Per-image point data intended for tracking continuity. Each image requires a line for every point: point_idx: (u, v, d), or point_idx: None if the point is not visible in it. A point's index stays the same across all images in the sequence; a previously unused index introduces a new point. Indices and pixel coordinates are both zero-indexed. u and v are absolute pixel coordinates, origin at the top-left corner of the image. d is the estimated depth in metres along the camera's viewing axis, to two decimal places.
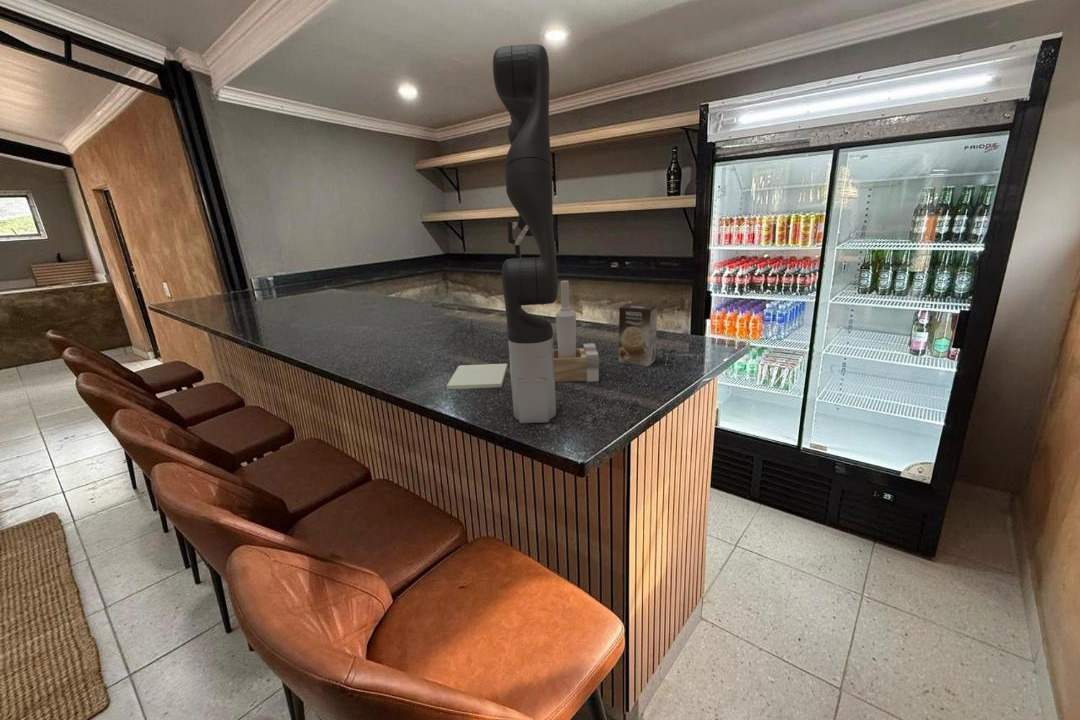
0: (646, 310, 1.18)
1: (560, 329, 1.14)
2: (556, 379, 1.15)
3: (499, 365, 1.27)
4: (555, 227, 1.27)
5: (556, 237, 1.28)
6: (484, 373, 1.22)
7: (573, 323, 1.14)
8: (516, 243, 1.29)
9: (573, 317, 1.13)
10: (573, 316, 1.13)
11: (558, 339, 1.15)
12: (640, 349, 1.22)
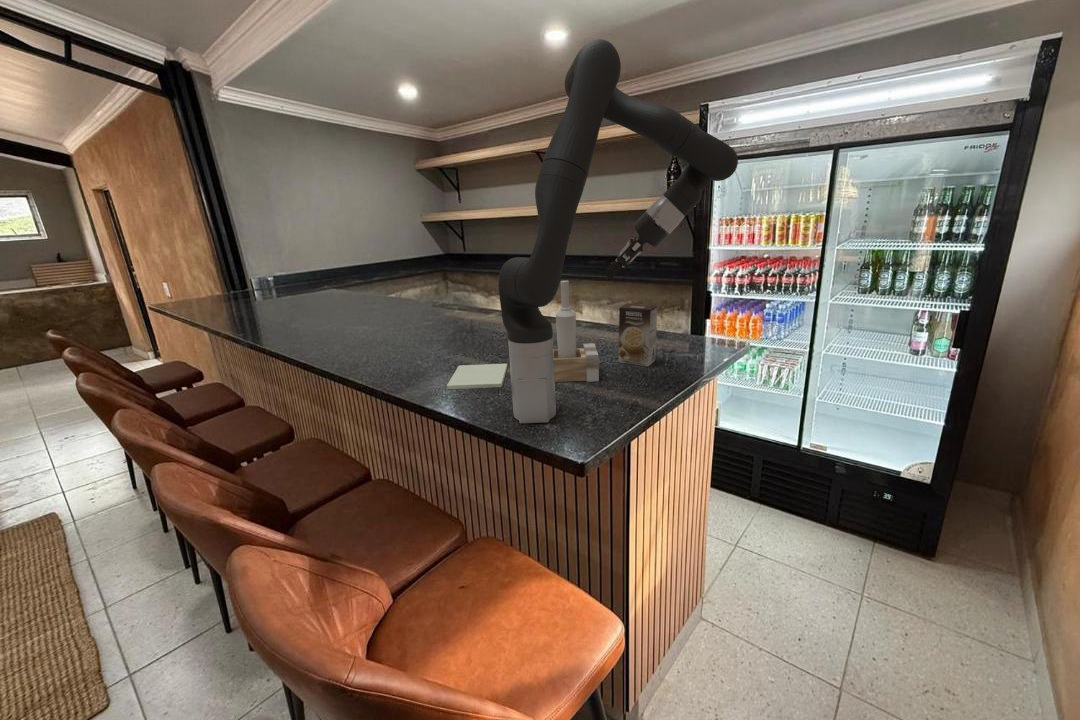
0: (646, 310, 1.18)
1: (560, 329, 1.14)
2: (556, 379, 1.15)
3: (499, 365, 1.27)
4: (628, 247, 1.00)
5: (619, 256, 1.00)
6: (484, 373, 1.22)
7: (573, 323, 1.14)
8: (619, 254, 1.12)
9: (573, 317, 1.13)
10: (573, 316, 1.13)
11: (558, 339, 1.15)
12: (640, 349, 1.22)
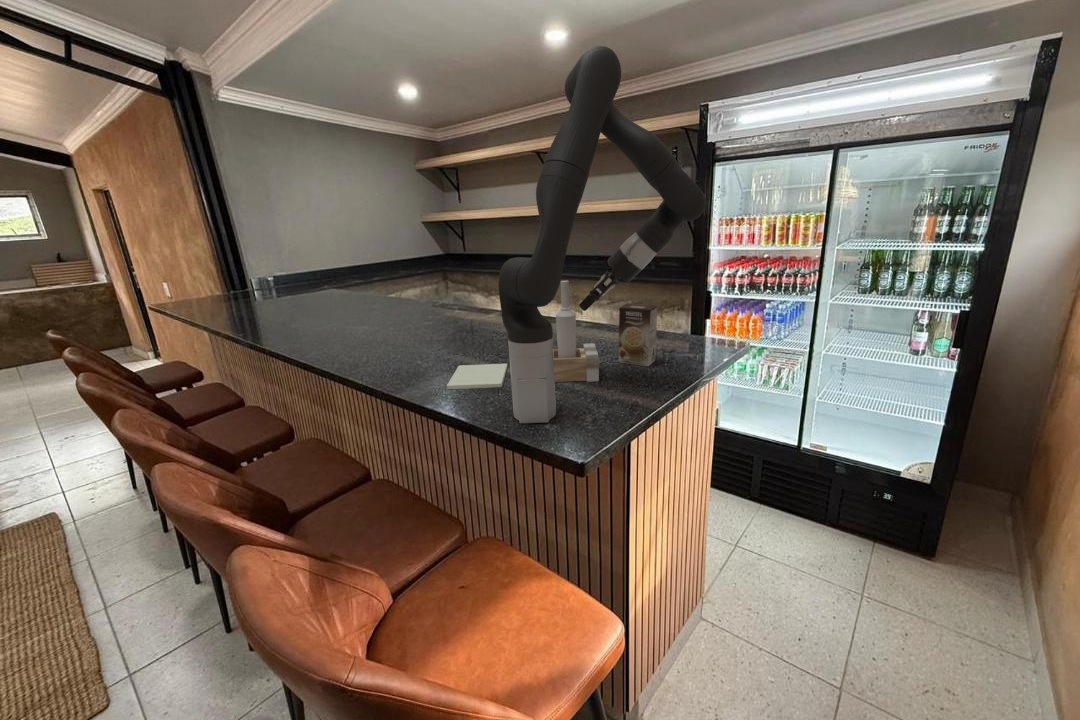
0: (646, 310, 1.18)
1: (560, 329, 1.14)
2: (556, 379, 1.15)
3: (499, 365, 1.27)
4: (600, 282, 1.03)
5: None
6: (484, 373, 1.22)
7: (573, 323, 1.14)
8: None
9: (573, 317, 1.13)
10: (573, 316, 1.13)
11: (558, 339, 1.15)
12: (640, 349, 1.22)
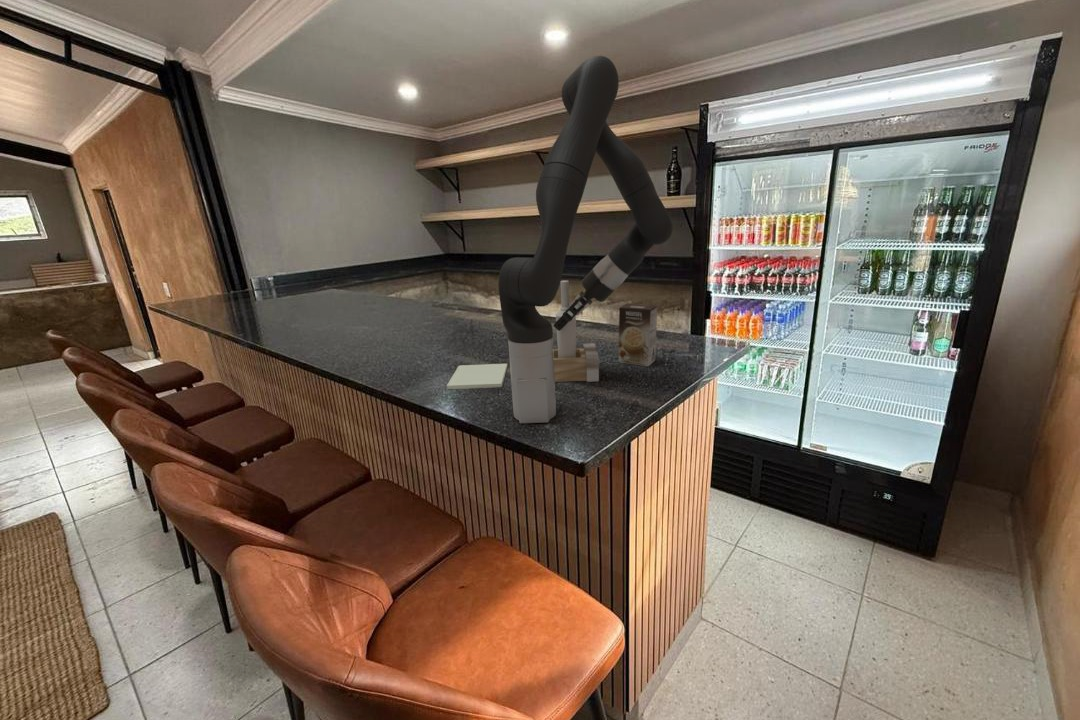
0: (646, 310, 1.18)
1: None
2: (556, 379, 1.15)
3: (499, 365, 1.27)
4: (571, 305, 1.07)
5: (564, 312, 1.09)
6: (484, 373, 1.22)
7: (573, 323, 1.14)
8: None
9: (573, 317, 1.13)
10: None
11: (558, 339, 1.15)
12: (640, 349, 1.22)
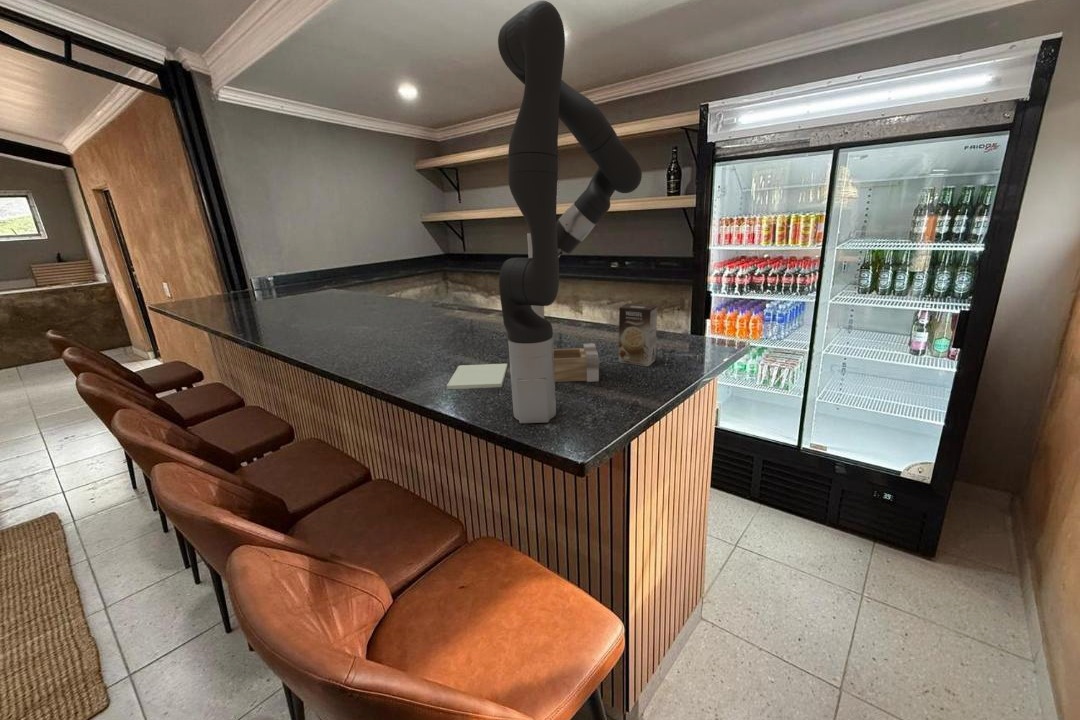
0: (646, 310, 1.18)
1: None
2: (556, 379, 1.15)
3: (499, 365, 1.27)
4: None
5: None
6: (484, 373, 1.22)
7: None
8: None
9: None
10: None
11: None
12: (640, 349, 1.22)
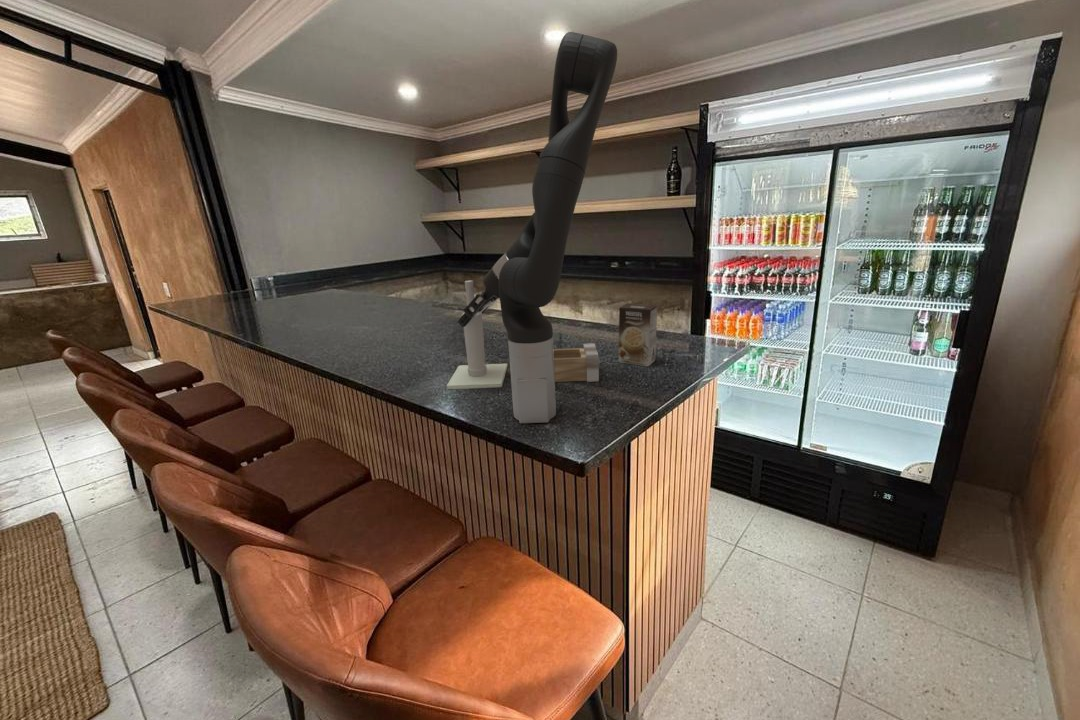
0: (646, 310, 1.18)
1: (465, 328, 1.16)
2: (556, 379, 1.15)
3: (499, 365, 1.27)
4: None
5: (465, 308, 1.09)
6: None
7: (478, 322, 1.15)
8: None
9: (478, 316, 1.15)
10: (478, 315, 1.15)
11: (465, 338, 1.17)
12: (640, 349, 1.22)
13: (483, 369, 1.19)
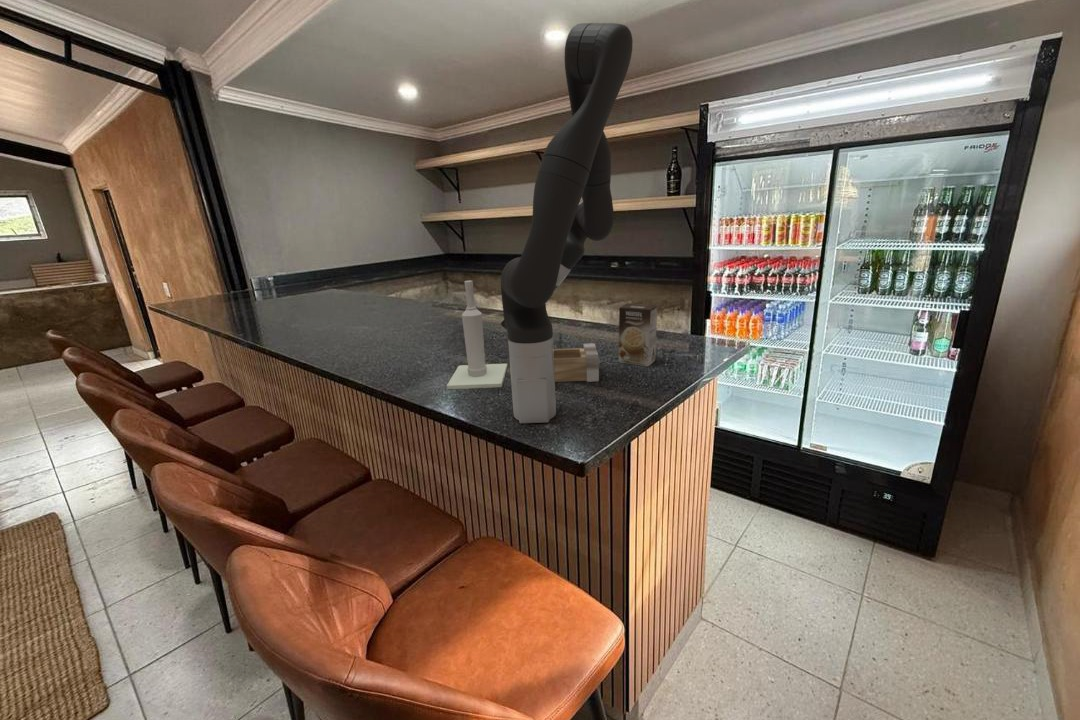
0: (646, 310, 1.18)
1: (465, 328, 1.16)
2: (556, 379, 1.15)
3: (499, 365, 1.27)
4: None
5: None
6: None
7: (478, 322, 1.15)
8: None
9: (478, 316, 1.15)
10: (478, 315, 1.15)
11: (465, 338, 1.17)
12: (640, 349, 1.22)
13: (483, 369, 1.19)
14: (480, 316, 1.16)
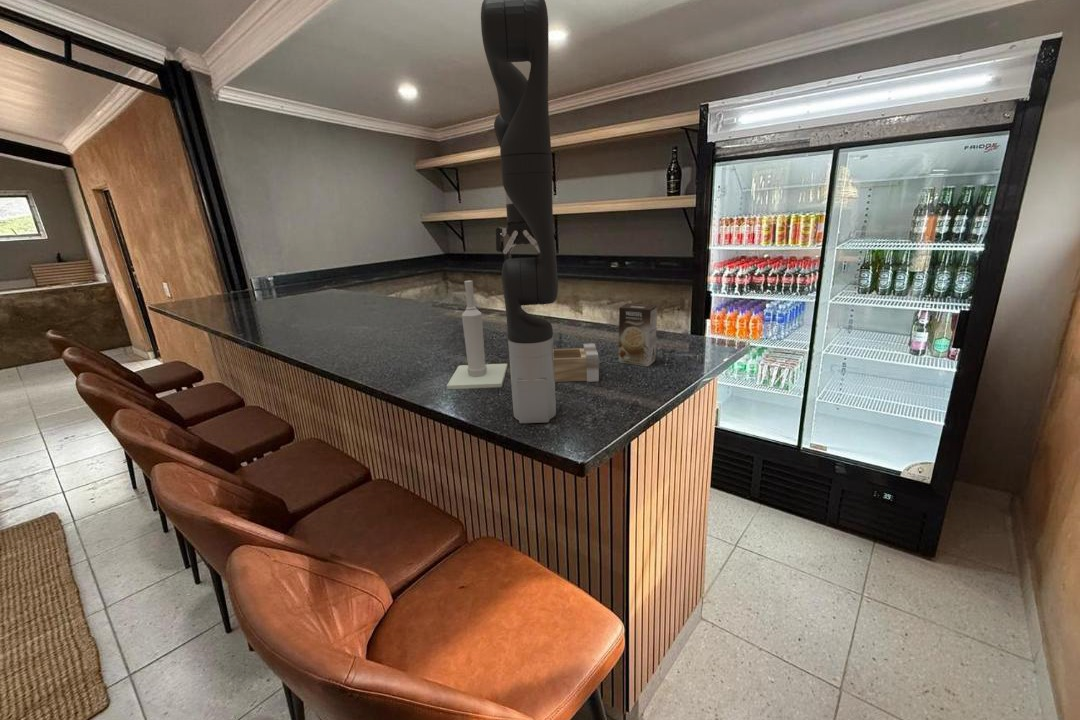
0: (646, 310, 1.18)
1: (465, 328, 1.16)
2: (556, 379, 1.15)
3: (499, 365, 1.27)
4: None
5: None
6: None
7: (478, 322, 1.15)
8: (504, 252, 1.15)
9: (478, 316, 1.15)
10: (478, 315, 1.15)
11: (465, 338, 1.17)
12: (640, 349, 1.22)
13: (483, 369, 1.19)
14: (480, 316, 1.16)
